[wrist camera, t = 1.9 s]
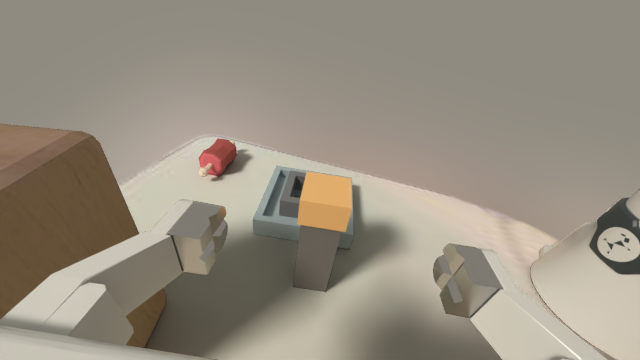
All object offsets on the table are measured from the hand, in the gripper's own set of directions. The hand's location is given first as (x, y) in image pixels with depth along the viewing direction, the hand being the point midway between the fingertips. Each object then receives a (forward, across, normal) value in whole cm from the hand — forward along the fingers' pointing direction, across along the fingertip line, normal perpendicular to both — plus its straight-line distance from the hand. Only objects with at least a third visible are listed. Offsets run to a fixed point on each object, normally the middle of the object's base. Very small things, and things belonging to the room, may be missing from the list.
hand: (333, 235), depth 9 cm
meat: (+32, +20, +21) cm, 44 cm away
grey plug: (+12, 0, +21) cm, 24 cm away
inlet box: (+24, +2, +21) cm, 32 cm away
